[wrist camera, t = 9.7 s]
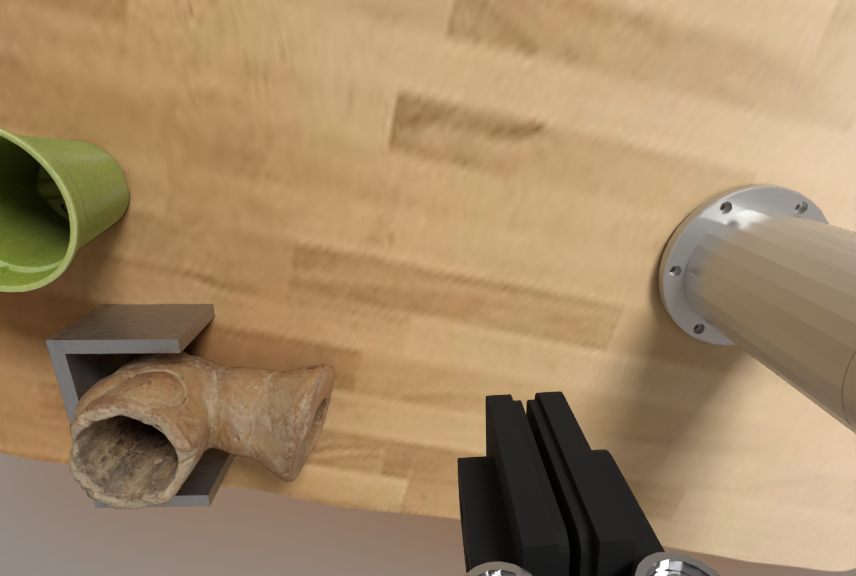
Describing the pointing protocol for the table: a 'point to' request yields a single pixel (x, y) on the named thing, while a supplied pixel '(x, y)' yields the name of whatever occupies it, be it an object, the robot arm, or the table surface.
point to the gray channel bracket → (106, 352)
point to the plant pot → (52, 205)
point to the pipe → (191, 424)
